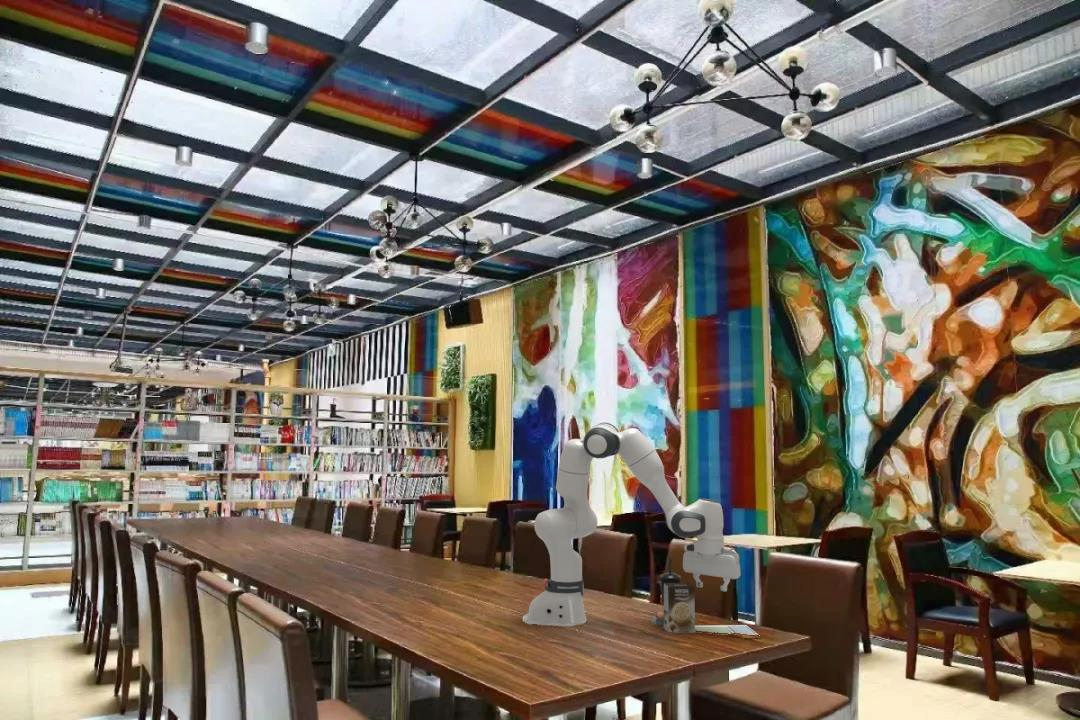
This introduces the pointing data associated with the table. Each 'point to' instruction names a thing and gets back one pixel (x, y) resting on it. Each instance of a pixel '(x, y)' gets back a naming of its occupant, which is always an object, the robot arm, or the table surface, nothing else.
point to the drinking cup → (669, 578)
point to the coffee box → (679, 607)
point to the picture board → (726, 629)
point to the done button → (660, 615)
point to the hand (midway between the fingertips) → (711, 589)
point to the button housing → (657, 621)
